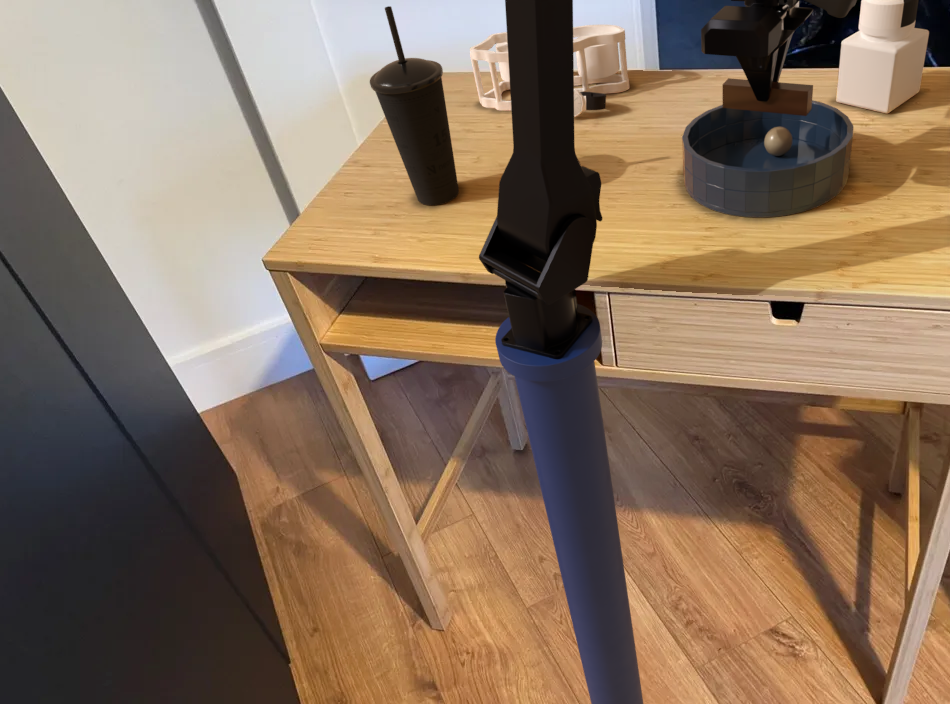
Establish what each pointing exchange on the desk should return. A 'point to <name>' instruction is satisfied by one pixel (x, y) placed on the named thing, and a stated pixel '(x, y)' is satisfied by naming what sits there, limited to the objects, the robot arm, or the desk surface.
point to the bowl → (766, 160)
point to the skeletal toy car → (593, 63)
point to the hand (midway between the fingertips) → (766, 96)
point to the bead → (778, 141)
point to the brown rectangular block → (780, 100)
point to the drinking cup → (418, 121)
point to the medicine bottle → (882, 57)
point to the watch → (588, 101)
